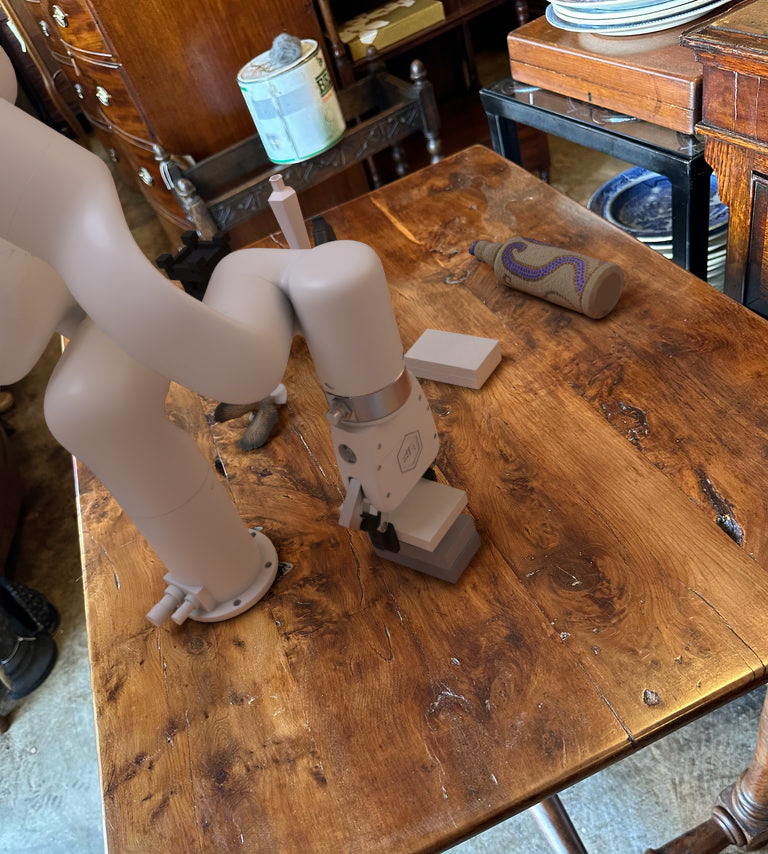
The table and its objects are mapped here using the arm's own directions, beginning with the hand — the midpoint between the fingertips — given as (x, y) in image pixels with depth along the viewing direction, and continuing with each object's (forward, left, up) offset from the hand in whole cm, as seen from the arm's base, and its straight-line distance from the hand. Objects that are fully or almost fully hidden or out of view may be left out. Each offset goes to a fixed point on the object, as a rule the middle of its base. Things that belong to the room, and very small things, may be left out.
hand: (407, 519), depth 81 cm
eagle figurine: (+11, +32, -5) cm, 34 cm away
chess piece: (+21, +43, -5) cm, 48 cm away
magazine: (+35, +35, -5) cm, 50 cm away
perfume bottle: (+47, +52, -5) cm, 70 cm away
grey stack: (+1, -1, -5) cm, 5 cm away
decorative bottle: (+48, +8, -5) cm, 49 cm away
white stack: (+29, +12, -5) cm, 31 cm away
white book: (0, 0, +1) cm, 1 cm away
